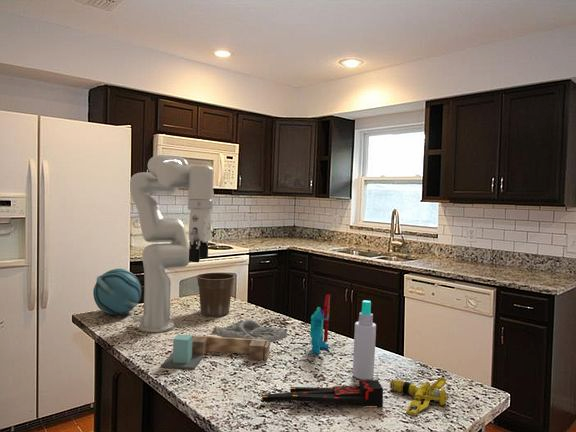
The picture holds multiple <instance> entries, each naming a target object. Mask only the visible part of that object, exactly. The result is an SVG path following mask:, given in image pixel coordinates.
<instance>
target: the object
mask: <svg viewBox="0 0 576 432" xmlns="http://www.w3.org/2000/svg"><path fill="white" fill-rule="evenodd" d="M195 277H196V278H197V279H196V280H197V286H198V291H199V306H200V308H199V310H200V314H201V315H202V316H206V317H207V316H211V317H223V316H226V315H228V314H229V313H230V307H231V297H232V291H233V289H232V288H233V285H234V279H235V277H236V276H235V275H234V274H232V273H225V272H206V273H200V274H196V275H195Z"/></svg>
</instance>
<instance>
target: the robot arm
mask: <svg viewBox="0 0 576 432" xmlns="http://www.w3.org/2000/svg"><path fill="white" fill-rule="evenodd" d="M147 169H148V172H145V171H143V172H141V171H140V172H137V173H134V174H133V175H132V176H131V178H130V181H129V191H130V195H131V199H132V200H133V203H134V205H135V207H136V209H137V213H138V218H139V224H140V229H141V233H142V234H141V235H142V238H143V239H144V241H146V242H147V243H152V244H148V245H146V246H145V247H144V248H143V250H142V254H141V257H142V264H143V276H144V277H143V278H144V280H143V281H144V282H143V283H144V285H143V287H144V289H143V314H142V315H137V314H135V315H133V316H132V318H133V319H132V320H133V322H134V323H137V322H139V324H138V329H139V330H140V331H141V332H145V333H162V332H163V333H164V332H168V331H170V330H173V328H174V327H175V326H174V325H175V324H174V322H173V321H171V319H170V318H171V285H172V282H171V278H170V277H169V275H168V274H167V272H166V271H165V270H168V269H181V268H185V267H187V266H188V265H189V264H190V263H200V261H201V258H202V259H208V258H209V241H210V240H211V239H212V214H211V211H213V205H214V204H213V200H214V195H213V194H214V169H213V167H211V166H209V165H189V163H188V161H187V160H186V159H185V157H182V156H177V155H176V156H175V155H167V154H165V155H163V154H157V155H154V156H152V157H150V159H149V160H148V162H147ZM179 189H187V190H188V196H187V200H188V201H187V210H189V211H190V212H189V221H188V222H189V223H188V238H187V233H186V229H185V225H184V223H183V221H182V220H181V219H179V218H178V217H165V216H163V213H162V207H161V205H159V203H158V201H156V199H154V197H152V196H151V195H157V196H158V195H159V196H162V195H163V196H171V195H174V194H175V193H177V192H178V190H179ZM188 240H189V242H188Z"/></svg>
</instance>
